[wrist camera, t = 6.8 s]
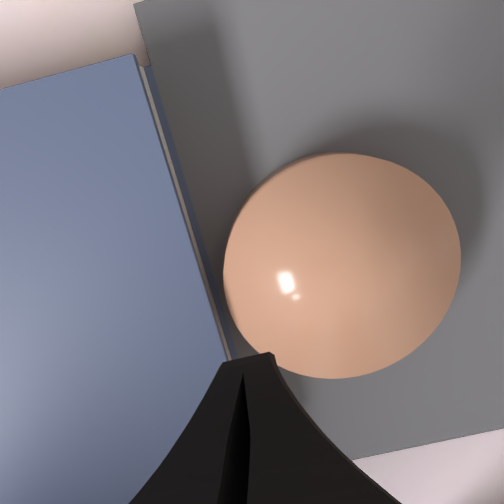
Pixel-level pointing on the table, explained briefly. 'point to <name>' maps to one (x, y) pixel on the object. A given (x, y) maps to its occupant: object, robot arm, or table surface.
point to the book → (97, 288)
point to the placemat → (363, 142)
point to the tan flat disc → (340, 264)
